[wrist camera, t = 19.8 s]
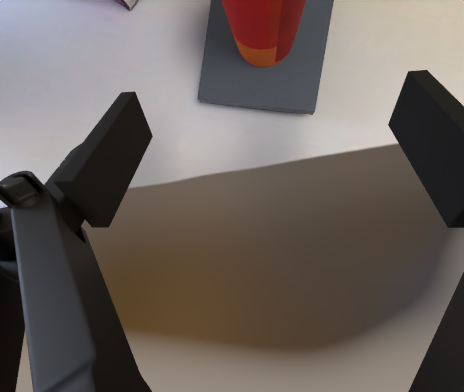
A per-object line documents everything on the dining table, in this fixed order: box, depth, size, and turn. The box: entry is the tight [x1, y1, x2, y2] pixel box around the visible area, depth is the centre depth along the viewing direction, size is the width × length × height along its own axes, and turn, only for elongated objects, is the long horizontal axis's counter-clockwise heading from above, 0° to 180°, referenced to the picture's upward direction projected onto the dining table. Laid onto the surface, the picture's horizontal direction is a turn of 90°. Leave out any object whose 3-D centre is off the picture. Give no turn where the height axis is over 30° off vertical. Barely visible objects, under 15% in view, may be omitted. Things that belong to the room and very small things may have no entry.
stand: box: [198, 0, 334, 115], centre depth 27 cm, size 12×13×3 cm
